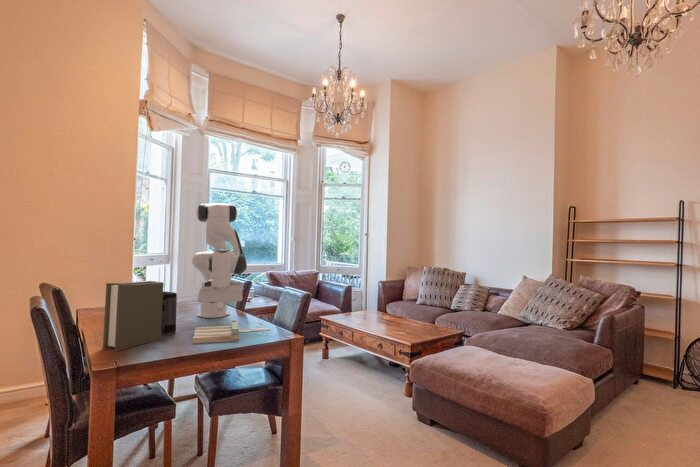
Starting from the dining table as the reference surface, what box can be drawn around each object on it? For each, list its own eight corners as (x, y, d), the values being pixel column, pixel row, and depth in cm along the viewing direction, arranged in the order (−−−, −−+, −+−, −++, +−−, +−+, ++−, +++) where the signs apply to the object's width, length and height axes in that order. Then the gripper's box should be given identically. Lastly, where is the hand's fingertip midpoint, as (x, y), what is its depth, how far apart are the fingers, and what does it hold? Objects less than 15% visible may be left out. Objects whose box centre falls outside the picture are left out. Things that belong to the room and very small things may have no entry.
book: (148, 338, 182) (151, 279, 183) (161, 340, 178) (164, 281, 179) (102, 348, 163) (106, 283, 163) (116, 351, 158) (120, 284, 159)
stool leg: (230, 325, 196) (231, 319, 196) (237, 325, 197) (237, 319, 197) (232, 334, 179) (232, 328, 179) (238, 334, 180) (238, 327, 180)
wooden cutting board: (195, 332, 192) (195, 327, 192) (268, 328, 204) (268, 323, 204) (193, 343, 173) (193, 337, 173) (273, 338, 185) (273, 333, 185)
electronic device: (154, 332, 190) (155, 292, 190) (165, 330, 195) (166, 291, 195) (166, 335, 185) (167, 294, 185) (177, 332, 191) (178, 292, 191)
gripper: (243, 281, 188) (242, 309, 188) (198, 281, 182) (198, 310, 181) (243, 282, 182) (243, 311, 182) (198, 283, 176) (197, 313, 175)
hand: (220, 311), depth 182 cm, fingers closed
